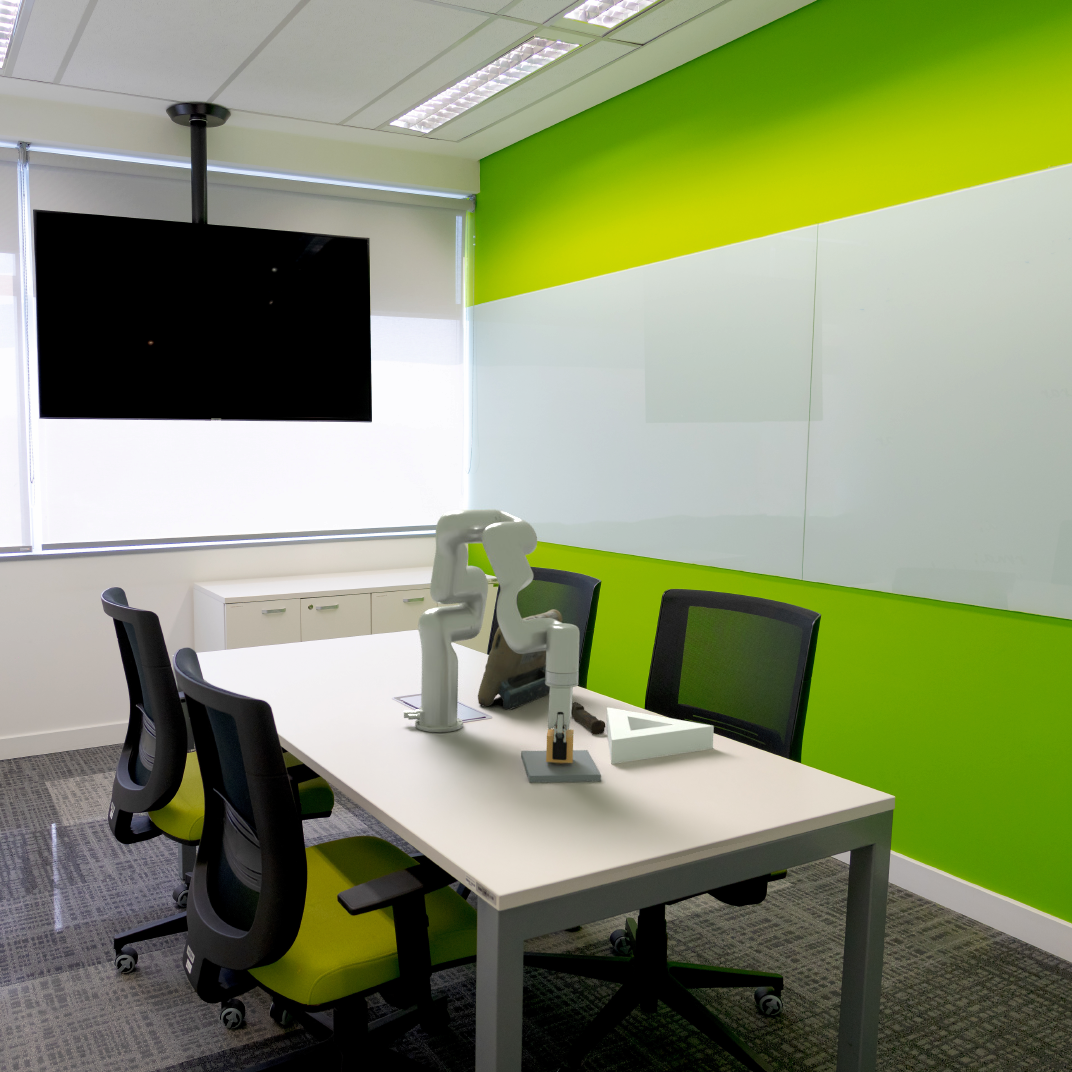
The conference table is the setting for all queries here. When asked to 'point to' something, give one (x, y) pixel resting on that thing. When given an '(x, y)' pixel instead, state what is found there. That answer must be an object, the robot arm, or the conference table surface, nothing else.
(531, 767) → the peg board
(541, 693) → the tablet
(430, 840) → the conference table surface
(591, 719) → the brown piece
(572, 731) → the orange cube
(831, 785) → the conference table surface
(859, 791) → the conference table surface
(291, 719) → the conference table surface
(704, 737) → the triangle block
